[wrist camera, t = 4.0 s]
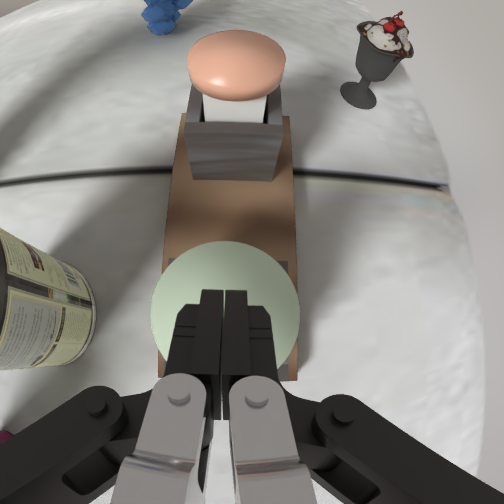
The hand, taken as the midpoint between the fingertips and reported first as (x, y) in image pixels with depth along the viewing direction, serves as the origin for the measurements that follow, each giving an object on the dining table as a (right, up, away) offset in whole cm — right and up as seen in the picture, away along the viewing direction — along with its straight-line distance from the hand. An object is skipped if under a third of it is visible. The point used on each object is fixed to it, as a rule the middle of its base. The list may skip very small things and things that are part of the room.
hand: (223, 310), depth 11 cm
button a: (-1, -3, +9) cm, 10 cm away
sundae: (+14, +22, +24) cm, 35 cm away
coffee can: (-18, -4, +14) cm, 24 cm away
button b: (0, +13, +14) cm, 19 cm away
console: (-1, +3, +17) cm, 18 cm away
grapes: (-11, +34, +26) cm, 44 cm away
